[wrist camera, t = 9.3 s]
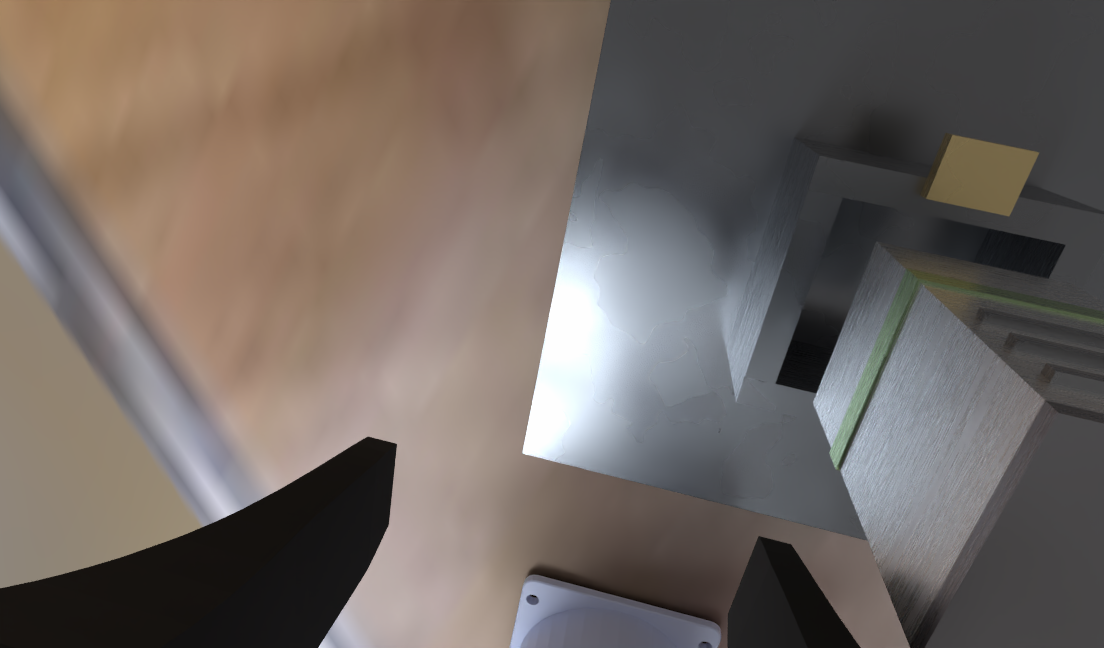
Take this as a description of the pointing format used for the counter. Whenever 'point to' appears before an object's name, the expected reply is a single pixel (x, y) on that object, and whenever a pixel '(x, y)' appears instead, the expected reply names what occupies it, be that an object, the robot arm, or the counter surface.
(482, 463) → the counter surface
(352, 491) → the robot arm
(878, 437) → the column
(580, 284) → the stand base
